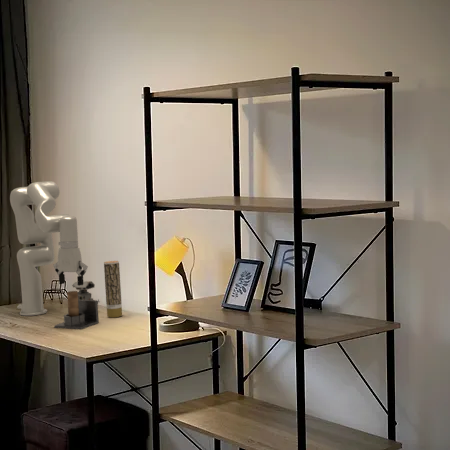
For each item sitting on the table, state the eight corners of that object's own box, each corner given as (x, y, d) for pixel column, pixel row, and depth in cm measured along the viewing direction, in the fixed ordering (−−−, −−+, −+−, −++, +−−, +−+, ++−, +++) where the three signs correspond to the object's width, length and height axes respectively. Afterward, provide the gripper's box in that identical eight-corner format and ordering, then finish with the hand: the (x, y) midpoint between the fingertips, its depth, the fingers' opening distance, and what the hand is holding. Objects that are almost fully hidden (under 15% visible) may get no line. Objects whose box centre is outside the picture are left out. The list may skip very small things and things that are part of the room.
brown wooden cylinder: (67, 324, 355) (64, 292, 354) (73, 322, 359) (71, 290, 358) (75, 325, 353) (73, 293, 352) (81, 323, 357) (79, 291, 356)
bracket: (72, 321, 367) (71, 299, 366) (98, 323, 360) (97, 300, 360) (54, 327, 355) (52, 304, 354) (81, 329, 349) (79, 306, 348)
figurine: (83, 316, 378) (81, 283, 377) (70, 313, 387) (68, 281, 385) (100, 312, 384) (98, 281, 383) (87, 309, 393) (85, 278, 391)
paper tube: (119, 318, 369) (116, 262, 367) (105, 318, 371) (101, 263, 368) (124, 314, 376) (121, 260, 374) (110, 314, 377) (106, 260, 375)
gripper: (47, 245, 354) (49, 284, 356) (80, 247, 346) (82, 287, 348) (58, 243, 360) (60, 281, 362) (91, 244, 353) (92, 283, 355)
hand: (71, 284), depth 355 cm, fingers open, 9 cm apart
